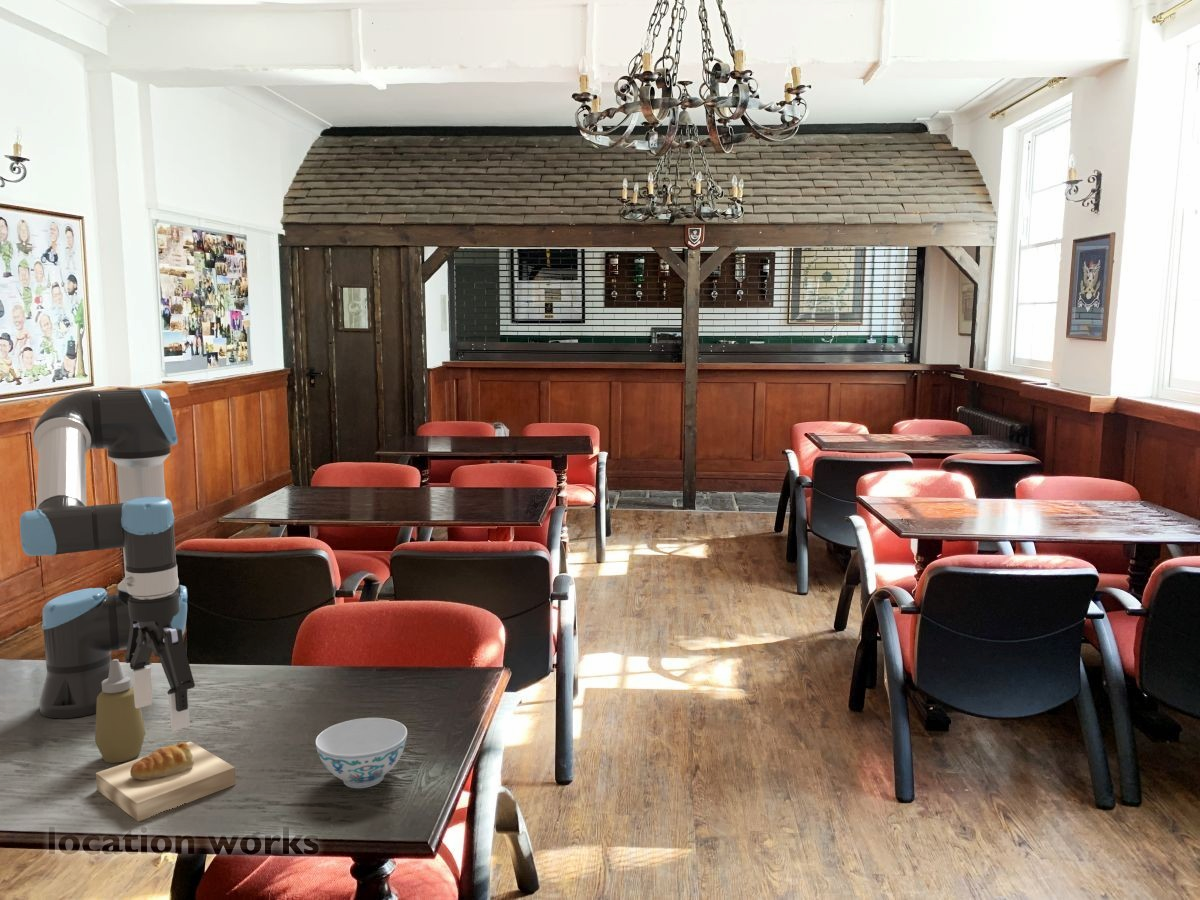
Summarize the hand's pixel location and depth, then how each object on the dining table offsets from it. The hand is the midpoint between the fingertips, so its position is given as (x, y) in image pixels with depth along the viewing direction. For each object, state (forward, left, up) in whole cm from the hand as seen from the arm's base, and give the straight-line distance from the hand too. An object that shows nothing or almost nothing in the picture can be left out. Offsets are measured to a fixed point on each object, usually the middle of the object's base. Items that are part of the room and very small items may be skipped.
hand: (161, 716), depth 155 cm
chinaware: (+23, +23, -12) cm, 35 cm away
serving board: (0, 0, -12) cm, 12 cm away
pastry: (+1, 0, -9) cm, 9 cm away
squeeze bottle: (-18, 0, -12) cm, 21 cm away
